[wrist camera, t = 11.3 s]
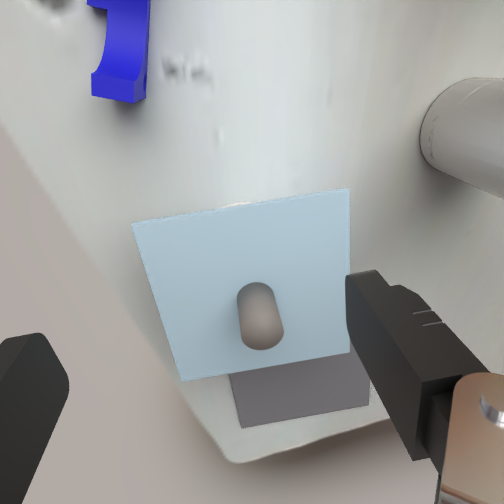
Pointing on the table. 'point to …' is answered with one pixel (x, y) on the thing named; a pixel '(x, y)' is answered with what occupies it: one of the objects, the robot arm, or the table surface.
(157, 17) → the table surface
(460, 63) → the table surface
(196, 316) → the sheet
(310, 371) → the mat
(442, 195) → the table surface
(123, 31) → the cable clip
